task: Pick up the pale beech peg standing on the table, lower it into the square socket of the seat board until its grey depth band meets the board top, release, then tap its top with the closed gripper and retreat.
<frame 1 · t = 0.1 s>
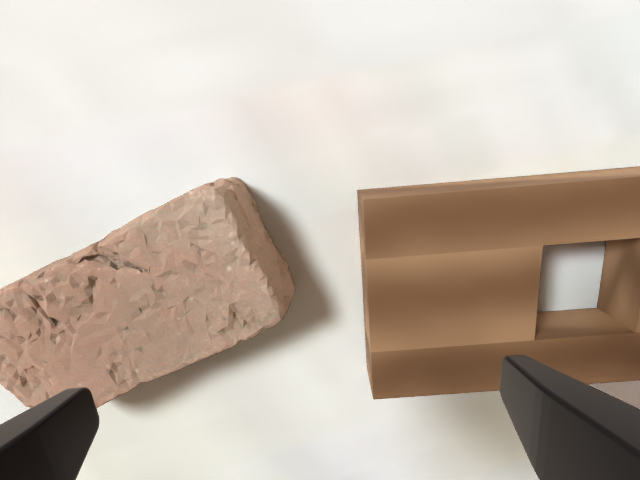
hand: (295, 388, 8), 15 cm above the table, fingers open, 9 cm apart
brick: (157, 283, 24), on the table
seat board: (507, 274, 23), on the table
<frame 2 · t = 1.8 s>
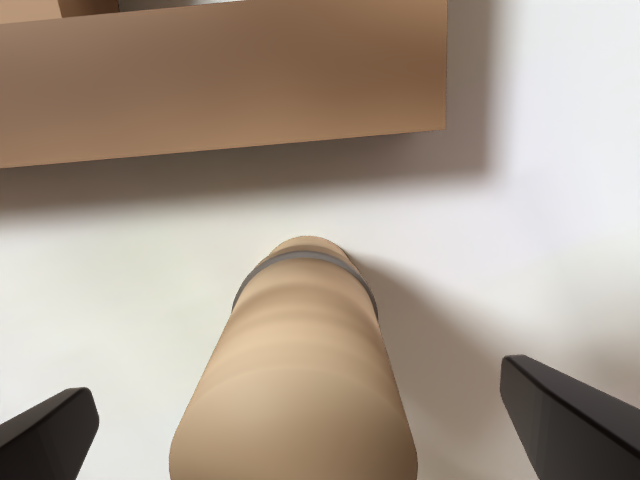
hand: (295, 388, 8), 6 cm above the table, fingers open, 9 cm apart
peg: (307, 280, 14), on the table
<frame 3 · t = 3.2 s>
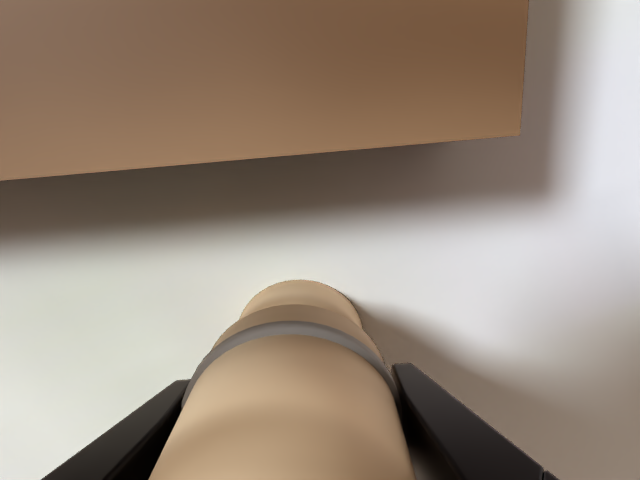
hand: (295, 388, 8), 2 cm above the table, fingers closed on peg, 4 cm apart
peg: (300, 338, 10), on the table, touching gripper
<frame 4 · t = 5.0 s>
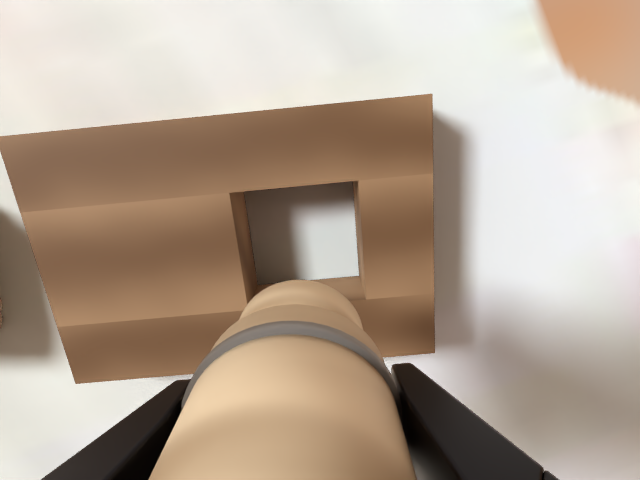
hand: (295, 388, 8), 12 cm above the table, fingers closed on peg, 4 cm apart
peg: (300, 338, 10), point 10 cm above the table, touching gripper
seat board: (246, 236, 20), on the table
when the fingers open (3 cm above the table, at t = 7.1 s): peg drops 1 cm, resting in seat board.
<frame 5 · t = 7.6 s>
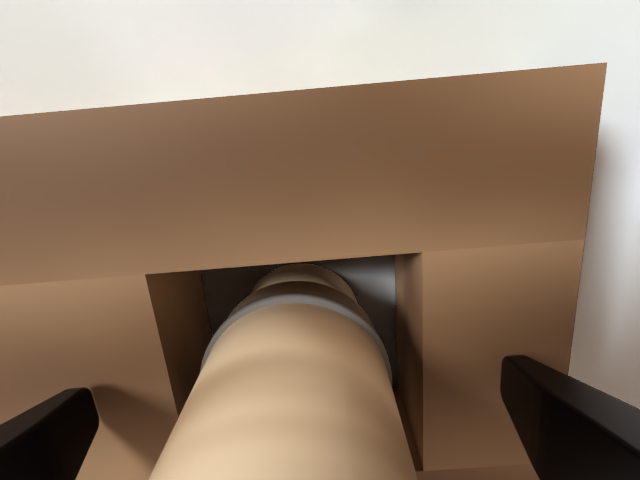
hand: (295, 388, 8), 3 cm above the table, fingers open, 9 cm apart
peg: (302, 316, 11), resting in seat board
seat board: (202, 323, 11), on the table
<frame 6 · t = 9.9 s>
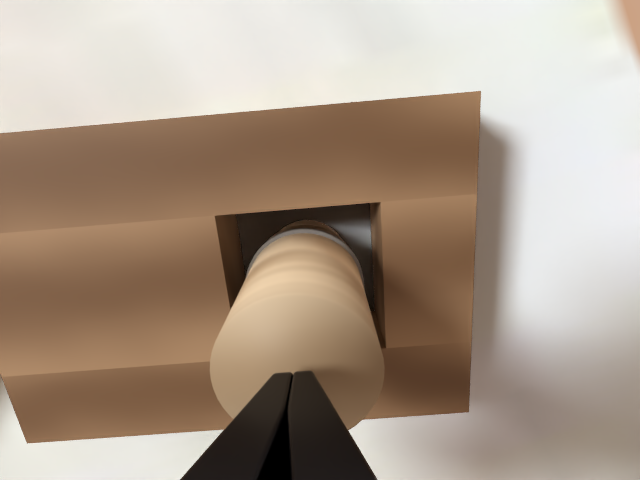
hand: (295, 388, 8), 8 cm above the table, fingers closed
peg: (307, 257, 16), resting in seat board
seat board: (238, 263, 16), on the table
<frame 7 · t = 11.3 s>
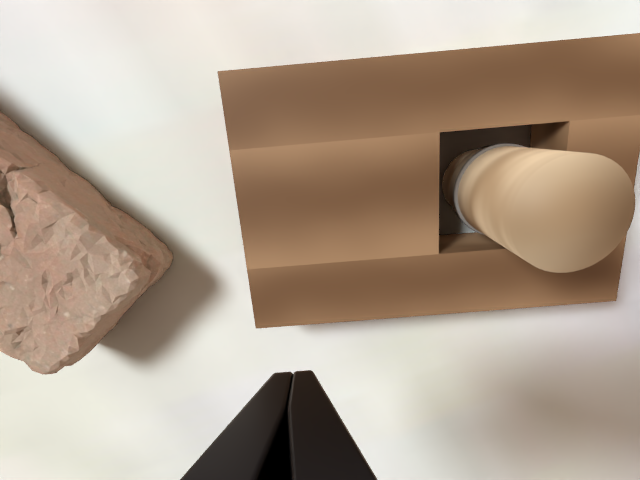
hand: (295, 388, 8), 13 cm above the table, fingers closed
brick: (20, 203, 21), on the table
peg: (474, 182, 20), resting in seat board
seat board: (417, 186, 20), on the table
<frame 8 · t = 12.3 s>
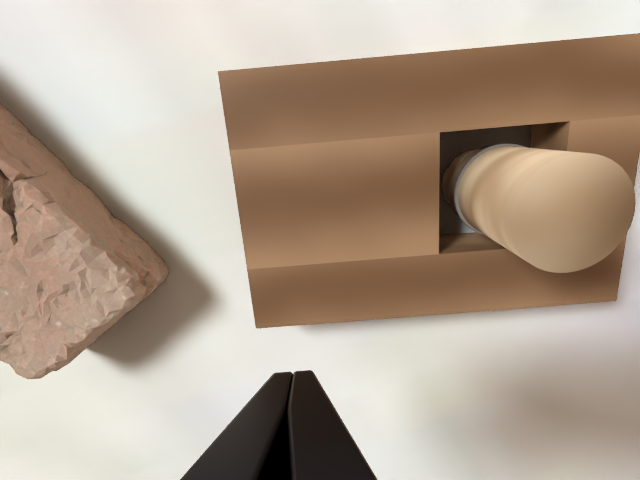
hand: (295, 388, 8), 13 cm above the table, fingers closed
brick: (20, 203, 21), on the table
peg: (474, 182, 20), resting in seat board
seat board: (418, 186, 20), on the table
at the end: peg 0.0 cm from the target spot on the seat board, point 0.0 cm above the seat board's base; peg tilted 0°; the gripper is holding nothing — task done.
